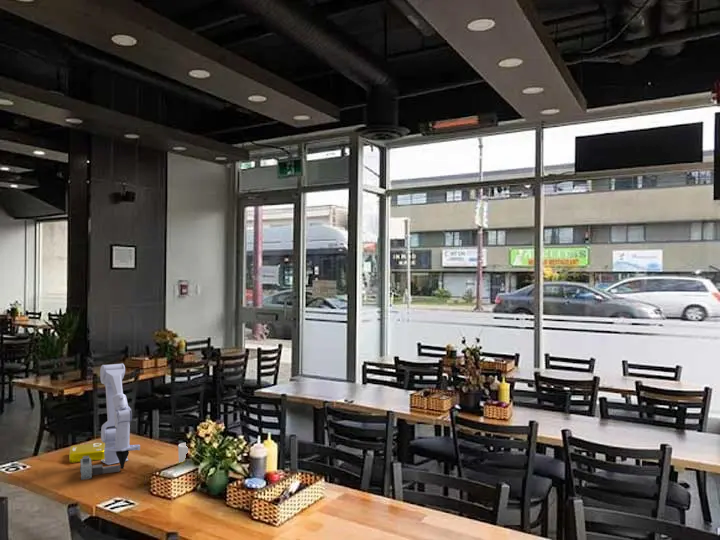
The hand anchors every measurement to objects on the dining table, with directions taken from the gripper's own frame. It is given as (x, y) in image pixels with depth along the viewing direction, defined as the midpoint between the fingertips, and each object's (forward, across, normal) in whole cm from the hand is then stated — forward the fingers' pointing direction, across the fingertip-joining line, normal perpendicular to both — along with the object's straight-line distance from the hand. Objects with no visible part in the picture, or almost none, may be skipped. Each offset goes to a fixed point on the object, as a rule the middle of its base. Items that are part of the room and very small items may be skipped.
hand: (121, 468), depth 256 cm
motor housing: (+1, -14, 0) cm, 14 cm away
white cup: (+1, +26, -7) cm, 27 cm away
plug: (+1, -7, 0) cm, 7 cm away
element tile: (+2, -13, +27) cm, 30 cm away
